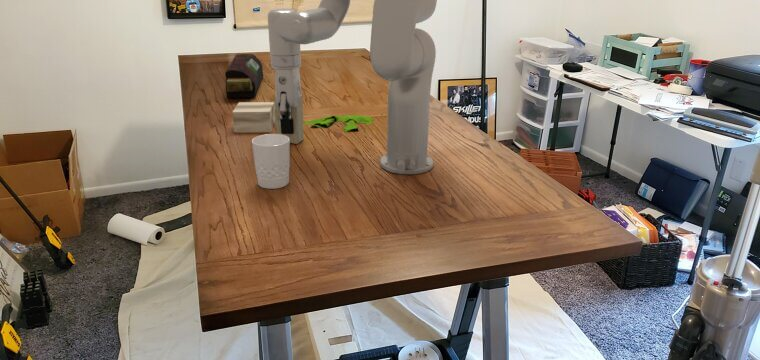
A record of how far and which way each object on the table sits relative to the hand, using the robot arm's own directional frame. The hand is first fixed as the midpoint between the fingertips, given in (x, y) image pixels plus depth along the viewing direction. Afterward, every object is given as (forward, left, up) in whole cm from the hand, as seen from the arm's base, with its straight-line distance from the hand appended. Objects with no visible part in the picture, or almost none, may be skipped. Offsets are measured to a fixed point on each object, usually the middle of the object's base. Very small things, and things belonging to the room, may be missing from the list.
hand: (289, 129), depth 147 cm
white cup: (-28, -2, -3) cm, 28 cm away
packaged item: (+55, +27, -4) cm, 61 cm away
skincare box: (0, 0, -3) cm, 3 cm away
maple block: (+11, +12, -3) cm, 17 cm away
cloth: (+15, -11, -4) cm, 19 cm away
